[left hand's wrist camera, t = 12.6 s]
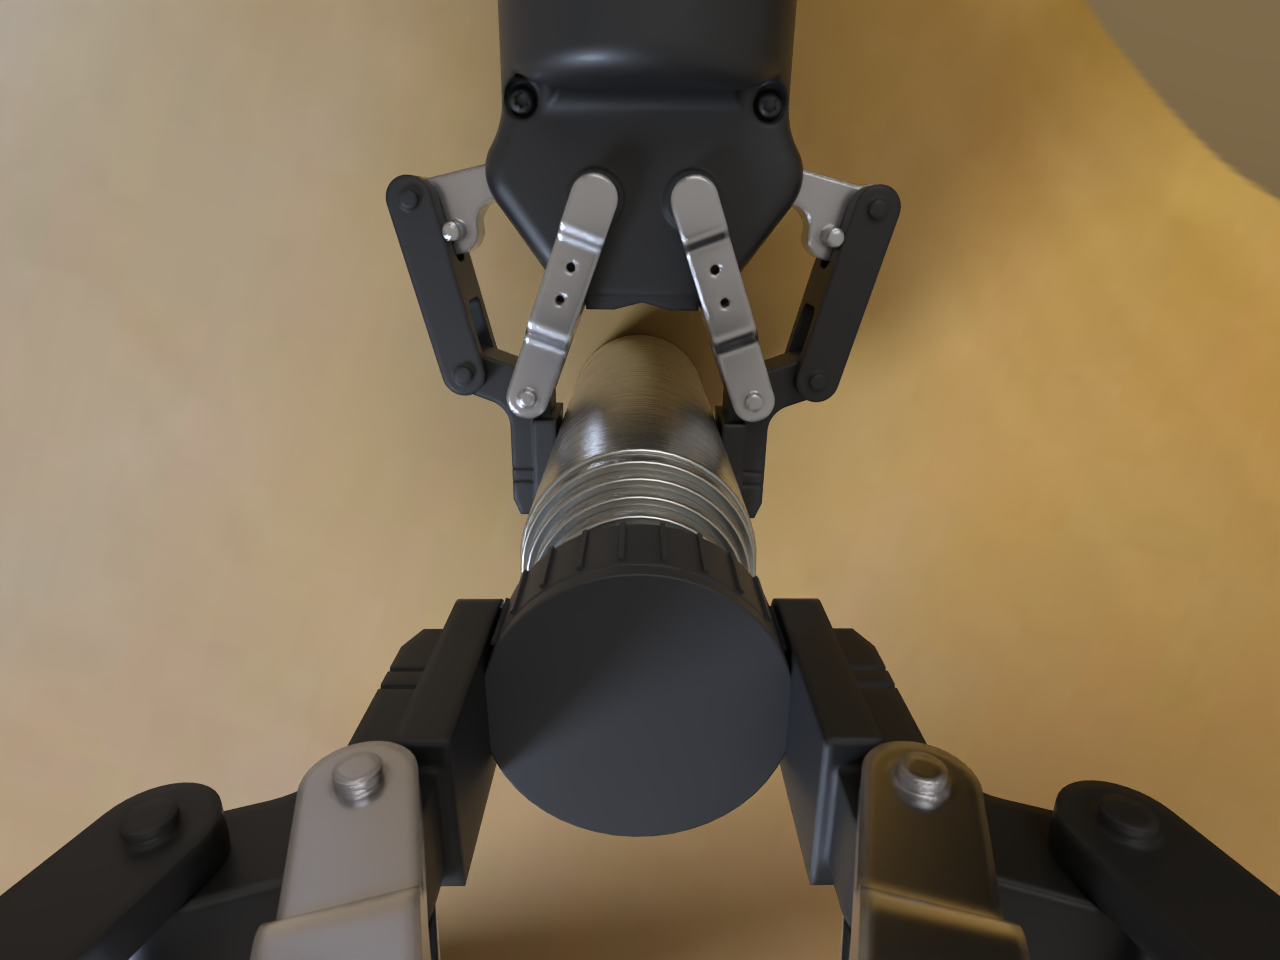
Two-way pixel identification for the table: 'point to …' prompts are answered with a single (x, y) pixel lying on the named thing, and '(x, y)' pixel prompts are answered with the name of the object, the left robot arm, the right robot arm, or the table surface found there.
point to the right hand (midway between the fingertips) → (638, 522)
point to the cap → (638, 682)
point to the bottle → (638, 455)
